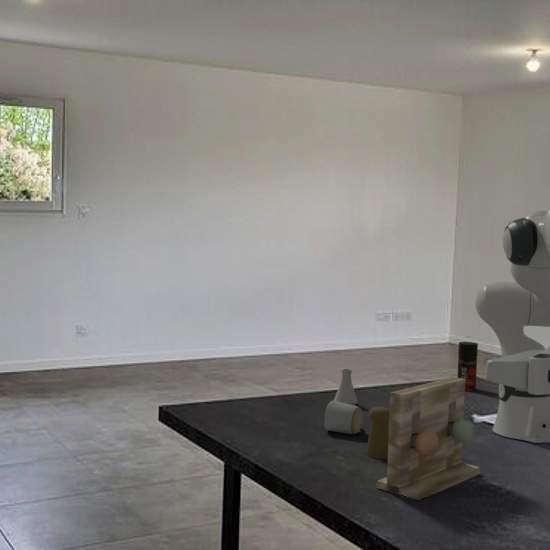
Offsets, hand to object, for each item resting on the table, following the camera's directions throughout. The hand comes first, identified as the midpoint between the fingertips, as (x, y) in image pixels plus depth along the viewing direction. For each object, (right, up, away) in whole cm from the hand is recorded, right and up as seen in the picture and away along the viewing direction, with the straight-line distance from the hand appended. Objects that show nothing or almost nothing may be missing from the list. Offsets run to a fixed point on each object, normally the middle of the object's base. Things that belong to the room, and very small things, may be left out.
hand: (487, 360), depth 152 cm
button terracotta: (-12, -19, +9) cm, 24 cm away
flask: (-20, -22, +83) cm, 88 cm away
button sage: (-2, -19, +19) cm, 27 cm away
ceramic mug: (-23, -24, +52) cm, 62 cm away
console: (-8, -27, +15) cm, 32 cm away
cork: (-16, -25, +33) cm, 45 cm away
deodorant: (+22, -21, +108) cm, 112 cm away
